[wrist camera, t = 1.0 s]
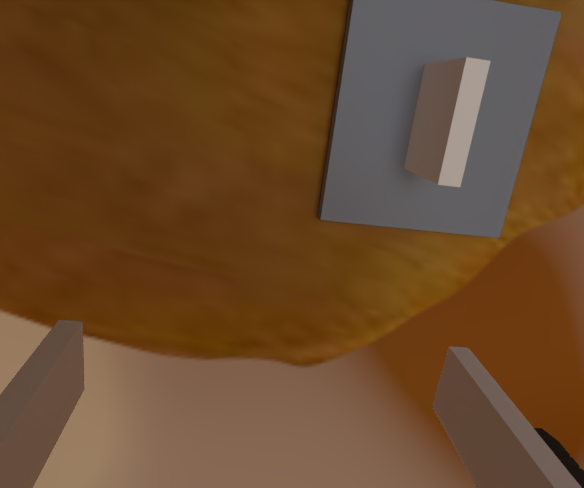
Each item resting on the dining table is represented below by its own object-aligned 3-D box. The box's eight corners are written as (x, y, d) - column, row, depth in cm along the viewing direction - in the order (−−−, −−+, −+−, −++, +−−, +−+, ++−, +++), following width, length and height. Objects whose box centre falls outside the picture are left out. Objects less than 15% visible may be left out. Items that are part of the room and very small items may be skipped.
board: (352, -18, 34) (356, -23, 33) (549, 15, 36) (561, 12, 35) (317, 215, 39) (320, 220, 38) (490, 233, 41) (499, 238, 40)
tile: (424, 64, 35) (466, 57, 28) (446, 67, 35) (492, 61, 28) (403, 168, 37) (437, 184, 31) (424, 171, 37) (462, 187, 31)
